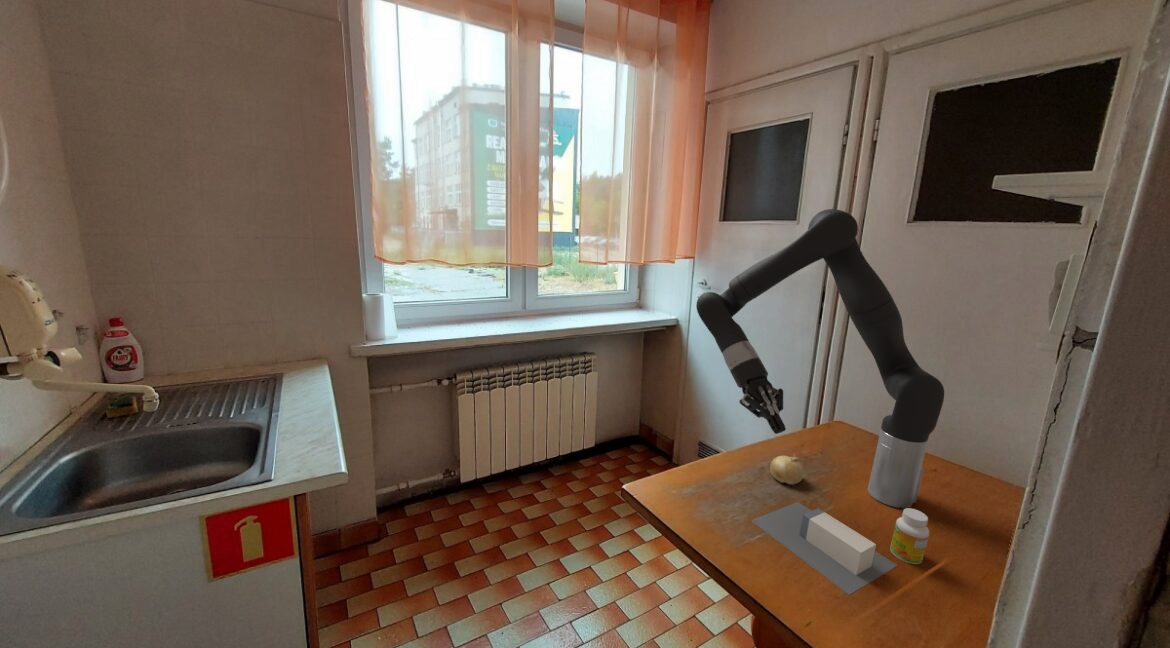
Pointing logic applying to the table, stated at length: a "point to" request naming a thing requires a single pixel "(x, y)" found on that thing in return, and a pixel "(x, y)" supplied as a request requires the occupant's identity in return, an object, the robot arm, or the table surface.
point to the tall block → (837, 541)
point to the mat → (787, 532)
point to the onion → (787, 469)
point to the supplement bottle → (910, 536)
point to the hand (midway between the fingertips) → (780, 432)
